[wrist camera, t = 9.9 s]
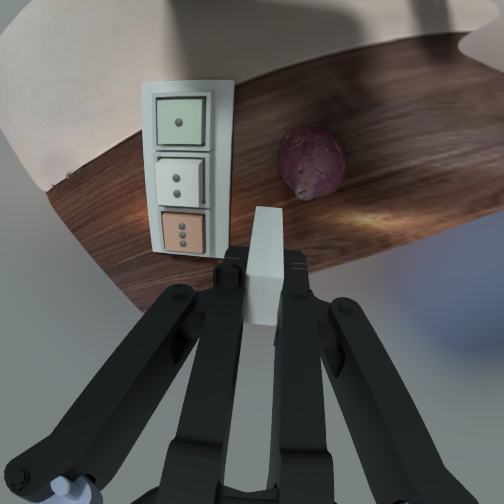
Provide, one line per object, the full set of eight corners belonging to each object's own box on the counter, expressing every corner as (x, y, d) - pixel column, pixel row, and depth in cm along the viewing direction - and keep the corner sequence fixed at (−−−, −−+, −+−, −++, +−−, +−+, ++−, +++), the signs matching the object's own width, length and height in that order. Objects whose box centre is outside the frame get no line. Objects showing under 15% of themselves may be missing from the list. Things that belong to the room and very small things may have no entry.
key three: (168, 207, 49) (161, 216, 47) (205, 210, 49) (201, 218, 46) (170, 240, 53) (165, 250, 50) (206, 243, 53) (202, 254, 50)
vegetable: (289, 185, 50) (269, 244, 40) (271, 128, 44) (242, 175, 34) (352, 177, 46) (350, 238, 36) (339, 117, 40) (336, 161, 29)
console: (144, 82, 39) (134, 83, 36) (235, 80, 39) (231, 80, 36) (154, 248, 55) (148, 259, 52) (228, 255, 55) (225, 267, 52)
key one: (164, 98, 39) (156, 100, 37) (206, 98, 39) (201, 99, 37) (164, 139, 43) (157, 144, 40) (205, 139, 43) (200, 144, 40)
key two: (161, 158, 43) (154, 164, 40) (203, 159, 43) (197, 165, 40) (163, 197, 46) (157, 205, 44) (203, 199, 46) (198, 207, 44)
